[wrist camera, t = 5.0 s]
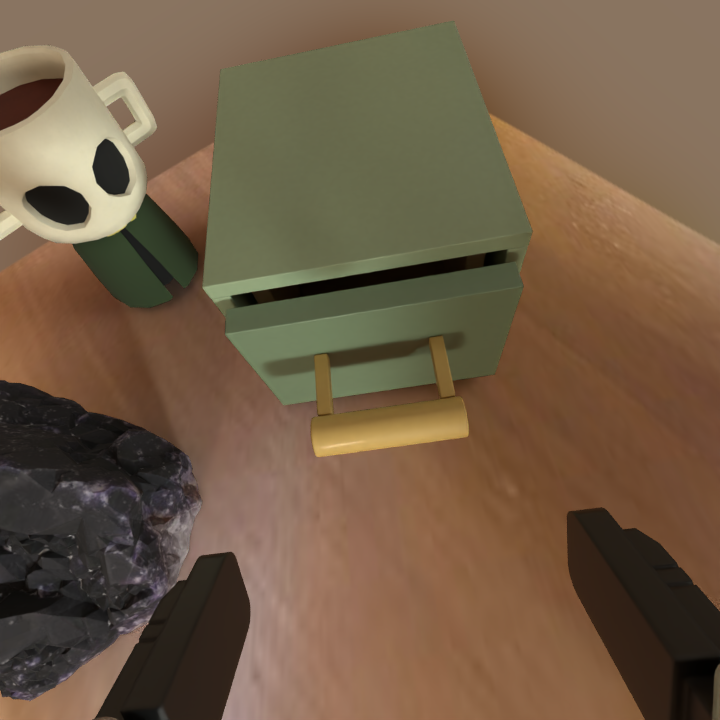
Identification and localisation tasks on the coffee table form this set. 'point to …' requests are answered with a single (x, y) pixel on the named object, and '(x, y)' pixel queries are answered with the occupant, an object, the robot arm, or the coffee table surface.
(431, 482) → the coffee table surface
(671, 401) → the coffee table surface
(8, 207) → the character mug
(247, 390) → the coffee table surface
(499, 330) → the drawer
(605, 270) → the coffee table surface
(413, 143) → the cabinet
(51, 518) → the black rock
